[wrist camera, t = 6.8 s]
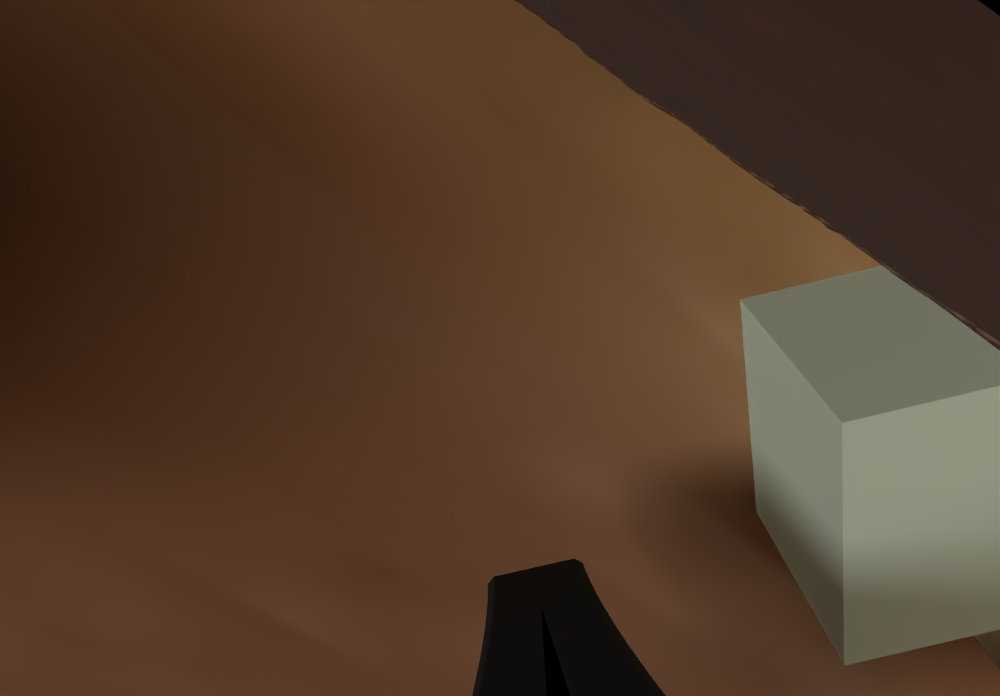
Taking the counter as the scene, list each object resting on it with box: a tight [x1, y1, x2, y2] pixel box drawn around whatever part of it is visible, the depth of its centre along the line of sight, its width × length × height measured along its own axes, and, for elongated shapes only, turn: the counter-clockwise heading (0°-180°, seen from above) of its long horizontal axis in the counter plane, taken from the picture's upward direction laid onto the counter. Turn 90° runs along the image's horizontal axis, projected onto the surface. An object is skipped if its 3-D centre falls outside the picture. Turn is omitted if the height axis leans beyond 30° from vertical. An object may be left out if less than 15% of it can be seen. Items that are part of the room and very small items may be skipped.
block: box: [740, 266, 1000, 666], centre depth 14 cm, size 5×5×4 cm
